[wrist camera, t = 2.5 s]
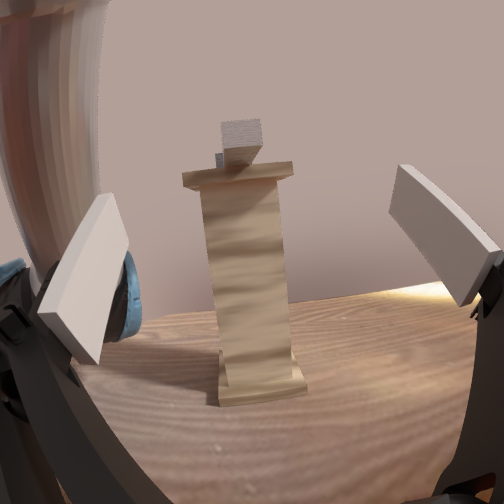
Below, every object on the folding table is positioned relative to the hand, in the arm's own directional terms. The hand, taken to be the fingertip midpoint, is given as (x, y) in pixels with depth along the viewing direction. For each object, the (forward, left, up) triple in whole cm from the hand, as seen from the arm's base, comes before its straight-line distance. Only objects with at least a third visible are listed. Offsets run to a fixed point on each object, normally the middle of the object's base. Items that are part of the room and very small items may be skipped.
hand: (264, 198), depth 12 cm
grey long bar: (-7, +19, +4) cm, 20 cm away
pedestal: (-9, +24, -26) cm, 37 cm away
